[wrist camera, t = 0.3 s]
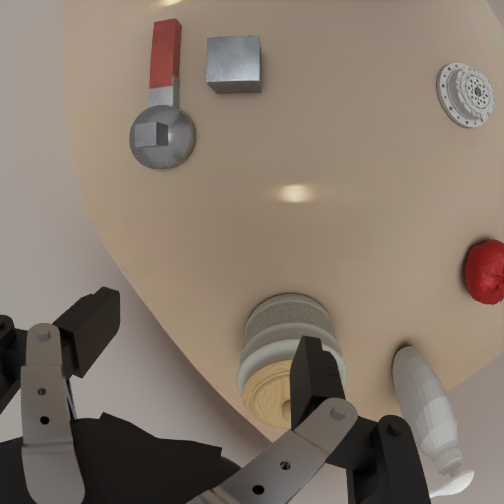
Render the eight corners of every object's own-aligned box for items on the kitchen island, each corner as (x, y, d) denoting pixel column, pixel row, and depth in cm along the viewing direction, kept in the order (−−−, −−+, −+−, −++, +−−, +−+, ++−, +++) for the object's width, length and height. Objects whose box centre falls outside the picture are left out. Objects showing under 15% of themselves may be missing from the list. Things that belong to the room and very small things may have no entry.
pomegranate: (453, 295, 40) (481, 324, 31) (460, 236, 37) (494, 257, 28) (494, 287, 39) (523, 311, 30) (502, 232, 36) (536, 250, 27)
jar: (317, 368, 45) (331, 456, 28) (238, 356, 45) (223, 445, 28) (343, 299, 41) (378, 382, 24) (254, 283, 41) (242, 365, 24)
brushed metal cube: (217, 54, 32) (207, 38, 26) (261, 53, 32) (259, 35, 26) (216, 93, 34) (206, 82, 28) (261, 92, 33) (259, 80, 27)
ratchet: (196, 166, 37) (180, 168, 30) (139, 169, 37) (115, 172, 31) (199, 23, 30) (185, 1, 24) (144, 32, 31) (123, 14, 24)
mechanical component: (433, 56, 29) (435, 118, 32) (448, 48, 25) (451, 115, 28) (482, 76, 29) (484, 135, 32) (499, 72, 25) (501, 134, 28)
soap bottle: (375, 343, 43) (435, 485, 18) (420, 328, 42) (499, 452, 16) (380, 400, 47) (418, 521, 22) (419, 387, 46) (469, 498, 20)
